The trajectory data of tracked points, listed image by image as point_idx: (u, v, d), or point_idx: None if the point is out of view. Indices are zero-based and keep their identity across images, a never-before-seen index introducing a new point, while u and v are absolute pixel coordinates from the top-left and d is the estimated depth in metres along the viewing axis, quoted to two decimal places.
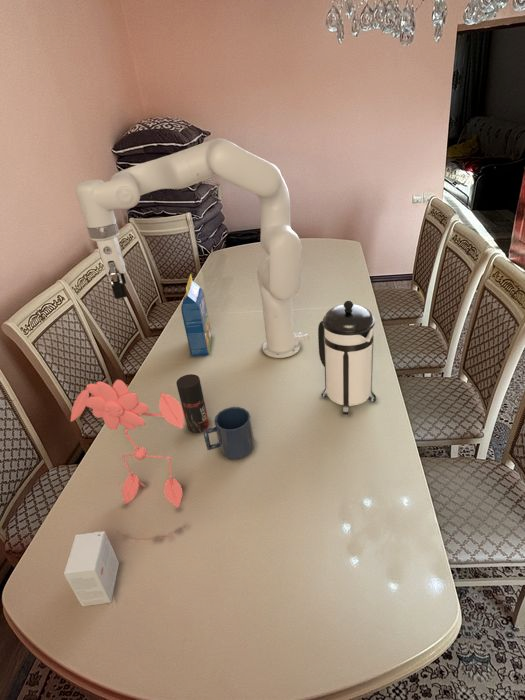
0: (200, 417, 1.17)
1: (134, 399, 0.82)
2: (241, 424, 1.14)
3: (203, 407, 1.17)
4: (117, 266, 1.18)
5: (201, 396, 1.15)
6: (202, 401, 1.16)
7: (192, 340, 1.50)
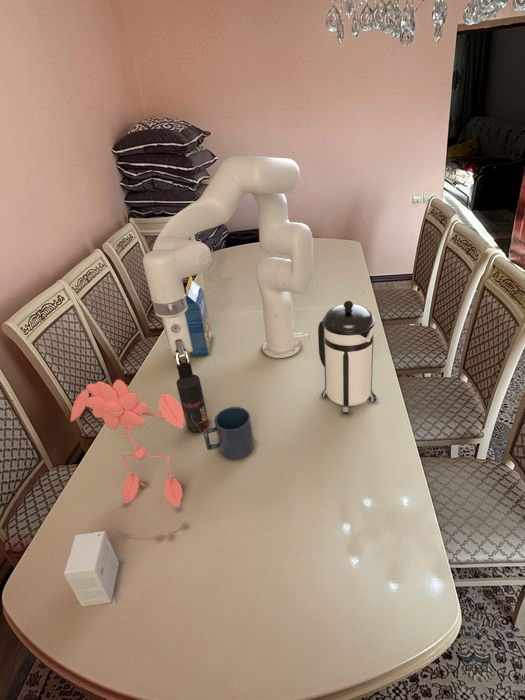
0: (200, 417, 1.17)
1: (134, 399, 0.82)
2: (241, 424, 1.14)
3: (203, 407, 1.17)
4: (185, 345, 1.03)
5: (201, 396, 1.15)
6: (202, 401, 1.16)
7: (192, 340, 1.50)
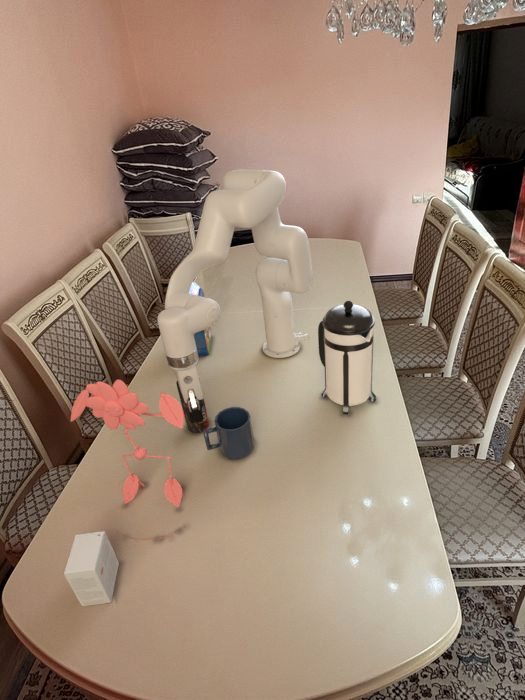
0: None
1: (134, 399, 0.82)
2: (241, 424, 1.14)
3: (203, 407, 1.17)
4: (197, 396, 1.11)
5: None
6: (202, 401, 1.16)
7: None
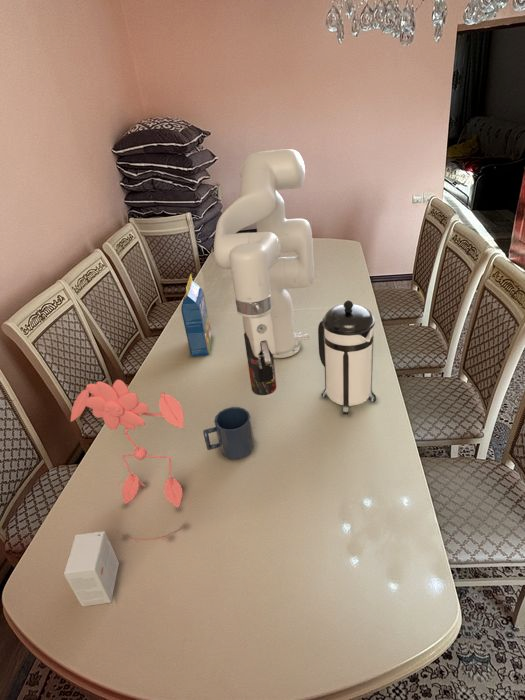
0: None
1: (134, 399, 0.82)
2: (241, 424, 1.14)
3: (273, 365, 1.03)
4: (270, 350, 0.97)
5: None
6: (272, 357, 1.02)
7: (192, 340, 1.50)
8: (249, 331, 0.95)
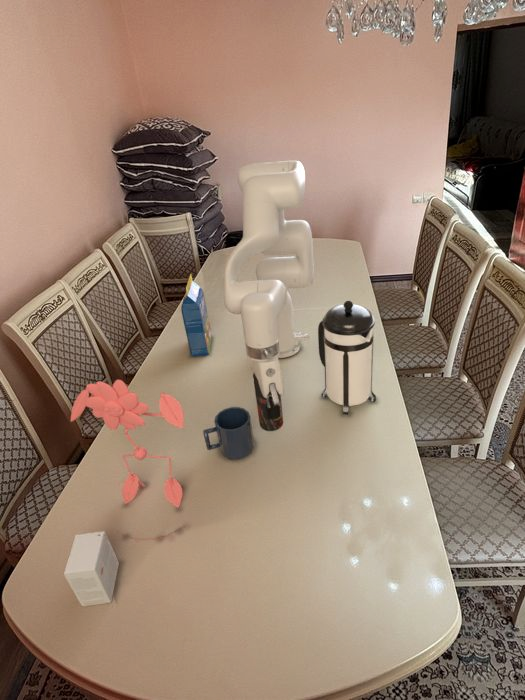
0: None
1: (134, 399, 0.82)
2: (241, 424, 1.14)
3: (280, 403, 1.08)
4: (278, 391, 1.02)
5: None
6: (279, 396, 1.07)
7: (192, 340, 1.50)
8: (258, 374, 1.01)
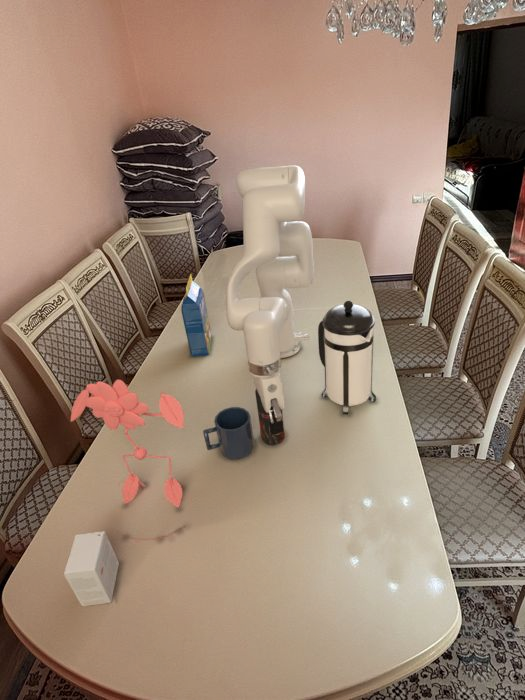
0: None
1: (134, 399, 0.82)
2: (241, 424, 1.14)
3: None
4: (279, 403, 1.04)
5: None
6: (281, 411, 1.10)
7: (192, 340, 1.50)
8: (260, 389, 1.03)
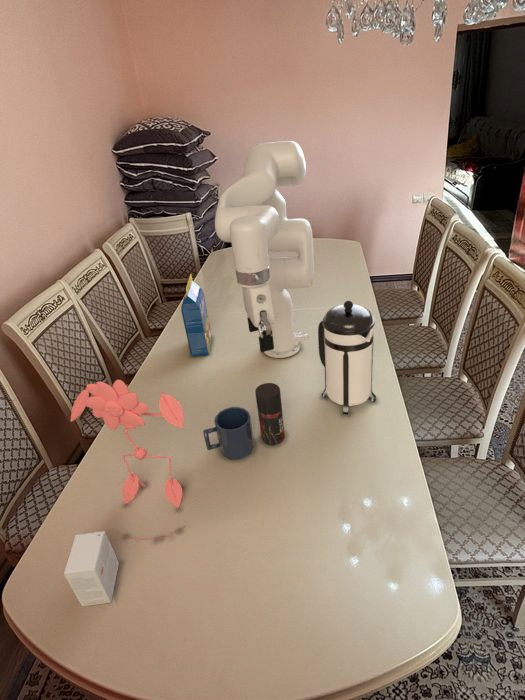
0: (278, 428, 1.10)
1: (134, 399, 0.82)
2: (241, 424, 1.14)
3: (281, 418, 1.11)
4: (269, 316, 1.00)
5: (280, 406, 1.09)
6: (281, 411, 1.10)
7: (192, 340, 1.50)
8: (249, 301, 0.99)
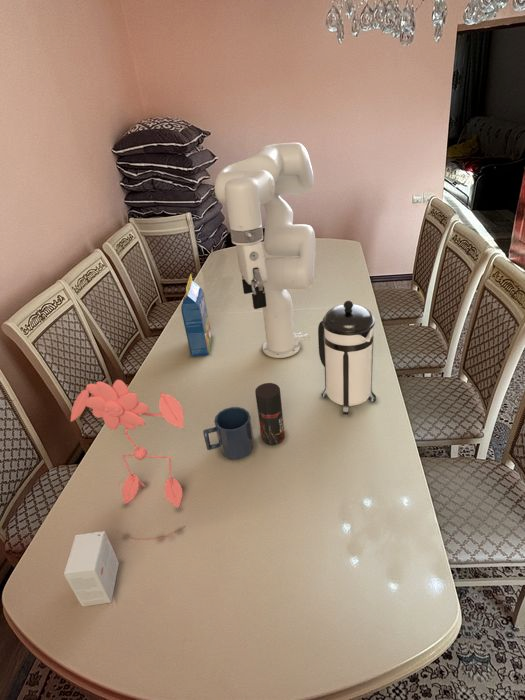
0: (278, 428, 1.10)
1: (134, 399, 0.82)
2: (241, 424, 1.14)
3: (281, 418, 1.11)
4: (261, 273, 1.06)
5: (280, 406, 1.09)
6: (281, 411, 1.10)
7: (192, 340, 1.50)
8: (243, 259, 1.06)
